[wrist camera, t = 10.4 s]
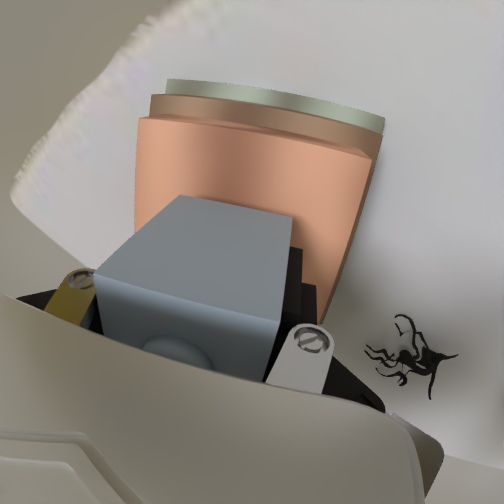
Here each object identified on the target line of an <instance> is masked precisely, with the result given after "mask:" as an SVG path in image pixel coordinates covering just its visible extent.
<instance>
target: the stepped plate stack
mask: <svg viewBox="0 0 504 504" xmlns="http://www.w3.org/2000/svg"><path fill="white" fill-rule="evenodd" d="M384 122H385V118H384V117H381V116H378V115H374V114H371V113H368V112H364V111H361V110H357V109H354V108H350V107H346V106H343V105H339V104H335V103H331V102H327V101H323V100H318V99H314V98H310V97H305V96H300V95H295V94H290V93H285V92H280V91H274V90H268V89H262V88H256V87H249V86H242V85H234V84H226V83H217V82H207V81H195V80H180V79H167V85H166V93H165V94H154V95H151V104H150V114H149V117H144V118H139V122H138V135H137V150H136V169H135V233H136V232H137V231H138V230H139V229H140V228H142V227H143V226H144V225H145V224H146V223H147V222H148V221H149V220H151V219H152V218H153V217H154V216H155V215H156V214H157V213H159V212H160V211H161V210H162V209H163V208H164V207H166V206H167V205H168V204H169V203H170V202H171V201H173V200H174V199H175V198H176V197H177V196H179V195H186V196H191V197H196V198H201V199H207V200H212V201H217V202H222V203H227V204H232V205H237V206H242V207H247V208H251V209H256V210H261V211H266V212H270V213H275V214H280V215H284V216H289V217H293V220H292V229H291V238H290V246H291V247H296V248H300V249H303V264H302V282H303V283H308V284H312V285H316V288H317V326H318V324H322V323H323V320H324V318H325V315H326V313H327V310H328V307H329V305H330V302H331V300H332V297H333V294H334V292H335V289H336V286H337V284H338V281H339V278H340V275H341V273H342V270H343V267H344V264H345V261H346V258H347V255H348V252H349V250H350V247H351V244H352V241H353V238H354V234H355V231H356V228H357V225H358V222H359V219H360V216H361V212H362V209H363V206H364V202H365V199H366V196H367V192H368V189H369V185H370V182H371V178H372V175H373V171H374V167H375V164H376V160H377V156H378V152H379V148H380V145H381V141H382V136H383V135H382V130H383V126H384Z"/></svg>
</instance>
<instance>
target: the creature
mask: <svg viewBox="0 0 504 504" xmlns="http://www.w3.org/2000/svg"><path fill="white" fill-rule="evenodd" d="M398 316H403V317H405V318H407V319H409V321H410V323H411V326H412V328H413V339H412V345H413V347H414V349H415V350H416V353H417V355H414V356H413V357H412V355H411V354H410V352H409V351H407V350H401V351H400V353H399V357H398V358H397V359H396V360H394V359H391V357H392V356H394V353H393V354H392V356H389V355H388V354H387V351H386V350H385V349H381V350H379V351H374V350H373V349H372V348H371V347H370V346H368V345H366V346H367V347H368V348H369V349H370V350H372V351H373V352H374V353H381V352H382V353H384V355H385V357H386V358H387V360H390V361H393V362H394V361H396V365H397V364H398V362H400V363H402V370H403V364H405V365H407V366H408V367H410V368H411V369H412V370H409V371H411V372H414V373H417V374H419V375H423V376H426V375H429V374H431V373H432V375H431V381H430V384H429V388H428V396H429V400H431V387H432V385H433V382H434V379H435V374H436V370H437V366H438V364H439V363H440V361H442V360H446V359H450V358H454V357H456V356H458V354H457V355H454V356H446V355H444V354H442V353H436V352H433V351H432V350H430V349H429V348H428V346H427V344H426V342H425V340H424V337H423V335H422V332H416V328H415V325H414V322H413V321H412V320H411V319H410V318H409V317H407V316H405V315H401V314H400V315H396V316H395V318H396V317H398ZM395 325H396V326H397V328H398V329H399V327H398V325H397V324H396V323H395ZM399 332H400V337H401V336H402V334H403V333H401V331H400V329H399ZM407 332H408V331H407ZM416 334H419V335H420V337H421V340H422V341H423V342H424V344H425V346H426V348H425V347H423V349H422V358H421V360H419V361H416V359H418V358H419V357H420V354H419V351H418V348H417V346H416V345H415V335H416ZM364 351H365V350H364ZM365 353H366V354H367V355H368V356H369V357H370V358H371V359H373V360H381V361H382V362H381V363H383V364H384V366H386V367H388V368H392V367H395V366H396V365H395V366H389V365H388V364H387V363H386V362H385V361H387V360H385V361H384V359H383V357H375V358H373V357H371V356H370V354H369V353H368V352H367V351H365ZM415 362H416V363H418V364H420V365H421V366H424V367H425V368H426V369H422V368H420V367H419V366H417V365H416V363H415ZM379 364H380V363H379ZM376 370H377V368H376ZM409 371H408V372H409ZM377 372H378V371H377ZM408 372H407V373H408ZM378 373H379V372H378ZM379 374H380V373H379ZM381 375H382V376H385V375H383V374H381ZM393 376H400V379H399V381H400V380H401V379H402V378H403V382H402V383H401V384H399V386H403V385H405V384H406V383H407V377H406V375H404V374H403V373H402V372H401V371H398V372H396V373H395V374H391V375H388V376H385V377H393ZM399 381H398V382H399ZM398 382H397V383H398Z"/></svg>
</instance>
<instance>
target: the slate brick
mask: <svg viewBox="0 0 504 504" xmlns="http://www.w3.org/2000/svg"><path fill="white" fill-rule="evenodd" d="M292 220H293V217H289V216H284V215H280V214H275V213H270V212H266V211H261V210H256V209H251V208H247V207H242V206H237V205H232V204H227V203H222V202H217V201H212V200H207V199H201V198H196V197H191V196H186V195H179V196H177V197H176V198H175V199H174V200H173V201H171V202H170V203H169V204H168V205H167V206H166V207H164V208H163V209H162V210H161V211H160V212H159V213H157V214H156V215H155V216H154V217H153V218H152V219H151V220H149V221H148V222H147V223H146V224H145V225H144V226H143V227H142V228H140V229H139V230H138V231H137V232H136V233H135V234H134V235H133V236H132V237H131V238H129V239H128V240H127V241H126V242H125V243H124V244H123V245H122V246H121V247H120V248H119V249H118V250H117V251H115V252H114V253H113V254H112V255H111V256H110V257H109V258H108V259H107V260H106V261H105V262H104V263H103V264H102V265H101V266H100V267H99V268H98V269H97V270H96V271H95V272H94V273H93V276H94V283H95V290H96V296H97V302H98V307H99V313H100V318H101V323H102V328H103V333H104V336H106V337H108V338H111V339H114V340H116V341H119V342H122V343H125V344H128V345H131V346H133V347H136V348H139V349H142V350H145V351H148V352H151V353H155V354H158V355H161V356H164V357H167V358H171V359H174V360H177V361H181V362H184V363H188V364H191V365H195V366H198V367H202V368H205V369H209V370H213V371H217V372H221V373H225V374H229V375H233V376H237V377H241V378H245V379H250V380H254V381H259V382H262V379H263V376H264V373H265V370H266V367H267V364H268V360H269V357H270V354H271V351H272V347H273V344H274V341H275V337H276V334H277V331H278V327H279V324H280V319H281V312H282V304H283V296H284V289H285V281H286V272H287V264H288V256H289V247H290V238H291V229H292Z"/></svg>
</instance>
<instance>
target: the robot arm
mask: <svg viewBox="0 0 504 504" xmlns="http://www.w3.org/2000/svg"><path fill="white" fill-rule="evenodd" d="M302 264H303V249H300V248H296V247H291V246H290V247H289V256H288V264H287V272H286V281H285V289H284V296H283V304H282V312H281V319H280V324H279V327H278V331H277V334H276V337H275V341H274V344H273V347H272V351H271V354H270V357H269V360H268V364H267V367H266V370H265V373H264V376H263V379H262V382H259V381H254V380H250V379H245V378H241V377H237V376H233V375H229V374H225V373H221V372H217V371H213V370H209V369H205V368H202V367H198V366H195V365H191V364H188V363H184V362H181V361H177V360H174V359H171V358H167V357H164V356H161V355H158V354H155V353H151V352H148V351H145V350H142V349H139V348H136V347H133V346H131V345H128V344H125V343H122V342H119V341H116V340H114V339H111V338H108V337H106V336H104V333H103V328H102V323H101V318H100V313H99V307H98V302H97V296H96V290H95V283H94V276H93V273H94V272H95V271H96V270H94V269H90V268H82V269H77V270H75V271H72V272H71V273H69V274H68V275H67V276H66V277H65V278H64V280H63V281H62V283H61V284H60V286H59V287H58V289H55V290H50V291H46V292H41V293H37V294H32V295H27V296H22V297H19V298H16V299H15V298H13V297H10V296H7V295H4V294H2V293H0V504H425V498H426V496H427V494H428V492H429V490H430V488H431V486H432V484H433V482H434V480H435V478H436V476H437V473H438V471H439V469H440V467H441V465H442V463H443V459H444V451H443V448H442V446H441V444H440V443H439V442H438V441H437V440H435V439H434V438H432V437H431V436H429V435H427V434H426V433H424V432H423V431H421V430H419V429H418V428H416V427H415V426H413V425H412V424H410V423H408V422H407V421H405V420H404V419H402V418H401V417H399V416H398V415H396V414H395V413H393V414H392V415H389V414H388V413H386V411H385V406H384V404H383V402H382V400H381V399H380V398H379V397H378V396H377V395H376V394H375V393H374V392H373V391H372V390H371V389H370V388H368V387H367V386H366V385H365V384H364V383H363V382H362V381H360V380H359V379H358V378H357V377H356V376H355V375H354V374H353V373H351V372H350V371H349V370H348V369H347V368H346V367H345V366H344V365H342V364H341V363H340V362H339V361H338V360H337V359H336V358H335V357H334V356H332V354H333V351H334V343H335V342H334V340H333V337H332V336H331V335H330V333H329V332H328V331H326V330H325V329H324V328H321V327H319V326H317V288H316V285H312V284H308V283H303V282H302Z"/></svg>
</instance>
